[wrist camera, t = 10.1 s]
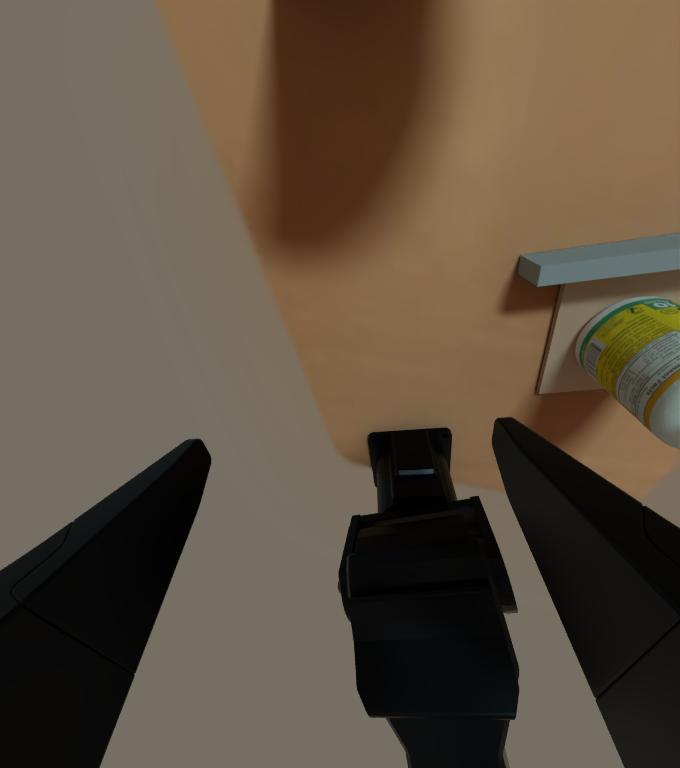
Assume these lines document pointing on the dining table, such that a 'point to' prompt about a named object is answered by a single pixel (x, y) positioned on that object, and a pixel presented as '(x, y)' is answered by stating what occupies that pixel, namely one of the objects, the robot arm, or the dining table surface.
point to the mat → (579, 309)
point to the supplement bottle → (638, 360)
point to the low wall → (602, 261)
